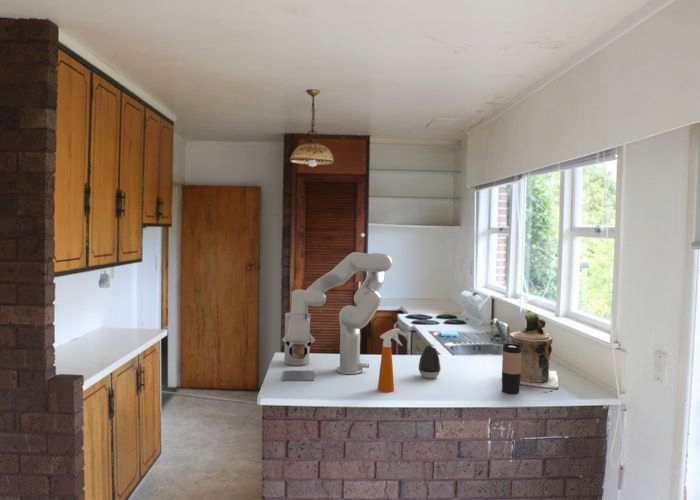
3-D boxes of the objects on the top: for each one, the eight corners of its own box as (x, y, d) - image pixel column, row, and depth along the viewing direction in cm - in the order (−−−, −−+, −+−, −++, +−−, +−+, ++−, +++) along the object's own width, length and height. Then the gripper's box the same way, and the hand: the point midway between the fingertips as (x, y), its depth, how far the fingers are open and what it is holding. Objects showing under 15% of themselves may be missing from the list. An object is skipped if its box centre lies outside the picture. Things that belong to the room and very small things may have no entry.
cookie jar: (500, 383, 234) (503, 313, 233) (504, 369, 257) (506, 305, 256) (559, 390, 226) (562, 317, 224) (557, 375, 249) (559, 309, 248)
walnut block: (304, 355, 241) (304, 344, 240) (303, 358, 235) (304, 346, 235) (292, 355, 240) (292, 343, 240) (291, 358, 235) (292, 346, 235)
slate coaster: (314, 372, 246) (314, 370, 246) (313, 380, 232) (313, 379, 232) (284, 371, 245) (284, 370, 245) (282, 380, 231) (282, 379, 231)
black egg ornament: (442, 375, 244) (443, 343, 243) (437, 381, 235) (437, 348, 234) (422, 372, 248) (422, 341, 248) (415, 378, 239) (416, 345, 238)
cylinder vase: (302, 367, 253) (303, 317, 252) (280, 364, 258) (280, 314, 256) (313, 361, 265) (314, 313, 264) (291, 358, 269) (292, 311, 268)
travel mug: (498, 388, 226) (500, 343, 225) (515, 388, 226) (517, 343, 225) (505, 394, 218) (506, 347, 217) (522, 394, 219) (524, 347, 218)
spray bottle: (404, 391, 220) (406, 329, 218) (380, 393, 217) (382, 330, 215) (398, 386, 226) (400, 326, 225) (375, 387, 223) (376, 327, 222)
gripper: (318, 315, 241) (316, 354, 242) (281, 315, 240) (280, 353, 241) (318, 318, 234) (316, 358, 235) (280, 317, 233) (278, 357, 234)
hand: (298, 355), depth 238 cm, fingers closed on walnut block, 5 cm apart
